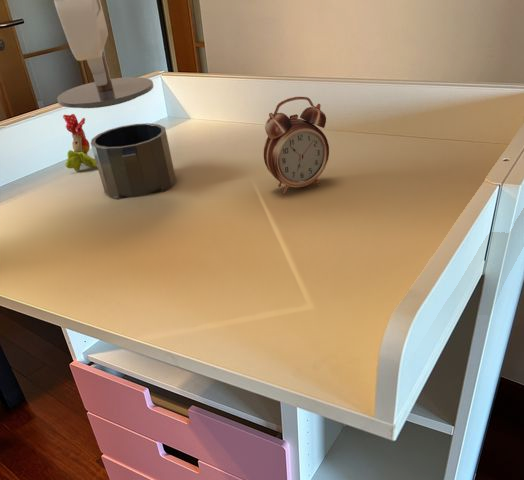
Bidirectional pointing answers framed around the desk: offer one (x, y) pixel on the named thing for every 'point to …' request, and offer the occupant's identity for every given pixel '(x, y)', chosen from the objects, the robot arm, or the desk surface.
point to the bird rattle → (78, 144)
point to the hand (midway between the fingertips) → (102, 81)
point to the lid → (105, 92)
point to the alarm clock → (296, 146)
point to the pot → (134, 160)
